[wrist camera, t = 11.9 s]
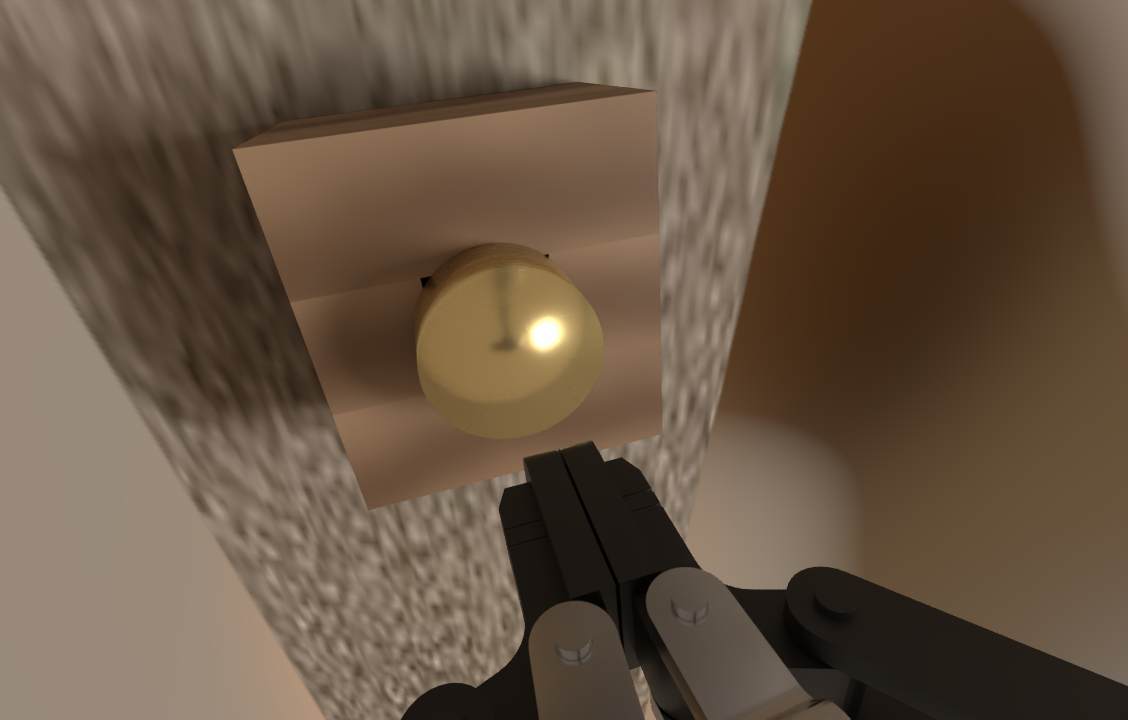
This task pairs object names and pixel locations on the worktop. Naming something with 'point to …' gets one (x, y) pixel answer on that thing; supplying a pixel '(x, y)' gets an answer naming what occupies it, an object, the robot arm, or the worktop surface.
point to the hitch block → (447, 227)
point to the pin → (505, 342)
